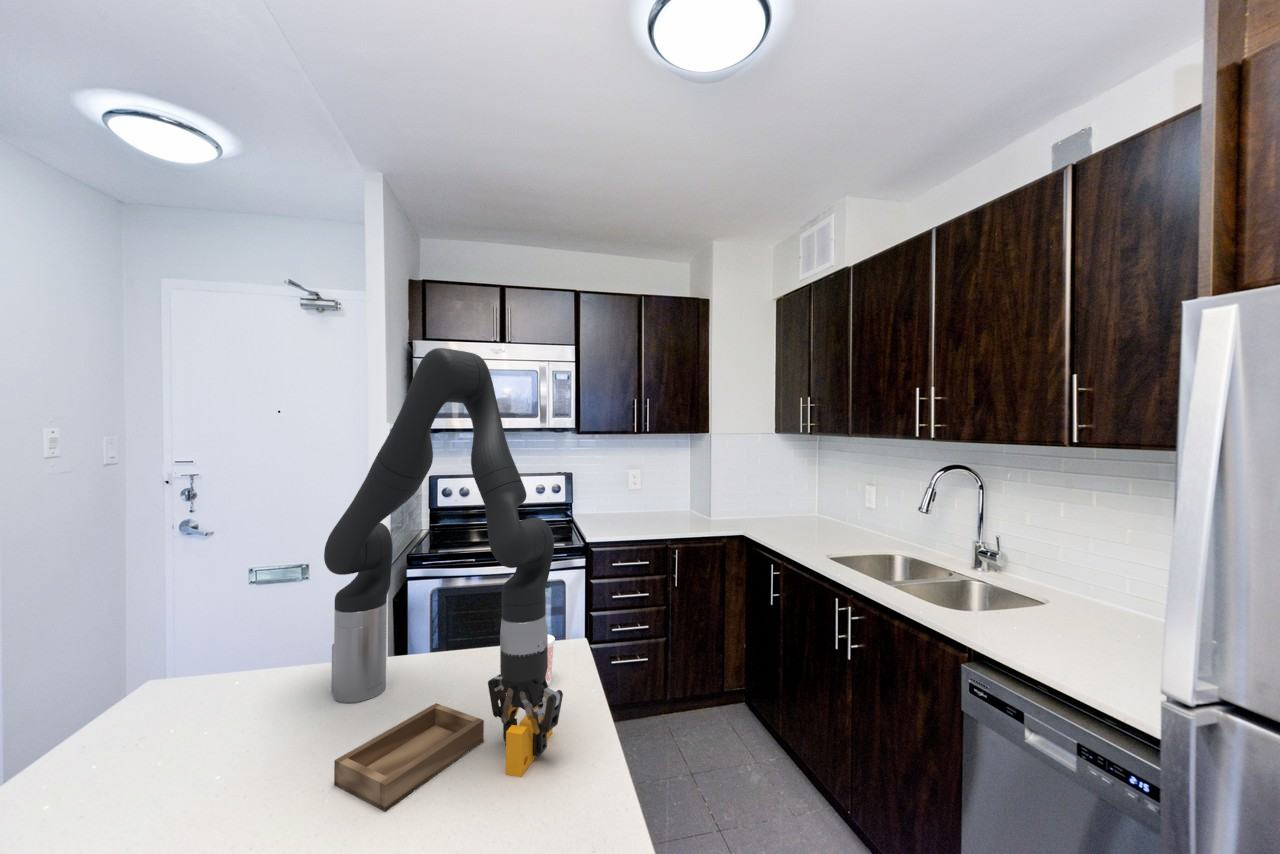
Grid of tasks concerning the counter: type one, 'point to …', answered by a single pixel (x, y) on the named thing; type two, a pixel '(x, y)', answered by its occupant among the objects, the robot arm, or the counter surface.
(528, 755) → the pipe clamp
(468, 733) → the wooden tray
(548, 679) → the beverage cup
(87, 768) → the counter surface
